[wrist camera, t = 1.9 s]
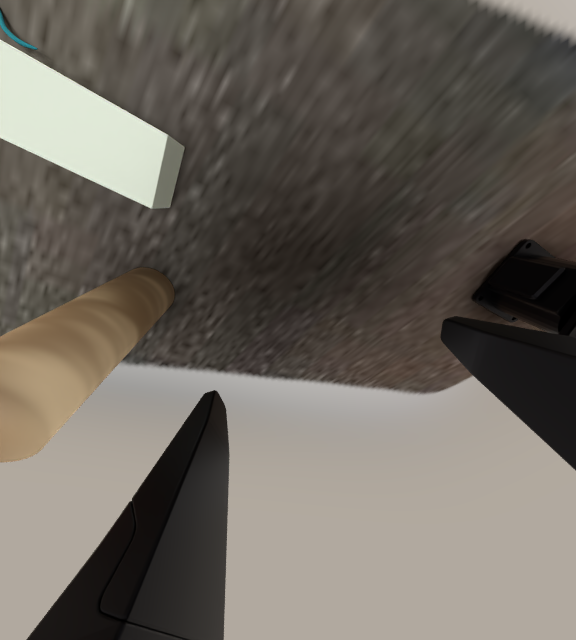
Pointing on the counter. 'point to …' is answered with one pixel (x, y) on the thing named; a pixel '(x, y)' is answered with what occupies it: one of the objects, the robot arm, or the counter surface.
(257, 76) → the counter surface
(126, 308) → the oak post
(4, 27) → the dragon figurine
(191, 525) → the robot arm
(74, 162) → the white block
